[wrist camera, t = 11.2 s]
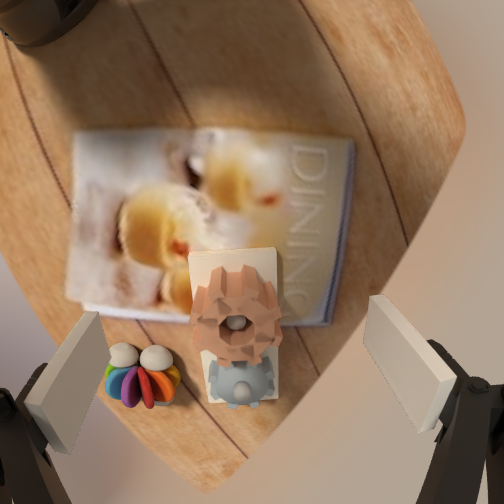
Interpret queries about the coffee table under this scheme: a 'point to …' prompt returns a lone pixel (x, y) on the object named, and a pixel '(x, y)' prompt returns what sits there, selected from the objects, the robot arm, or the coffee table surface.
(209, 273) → the gear board
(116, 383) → the white-domed colorful disc toy
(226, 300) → the gear
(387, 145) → the coffee table surface
